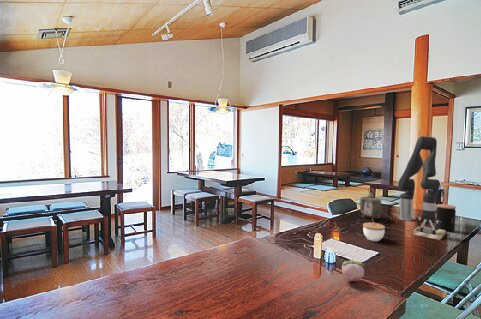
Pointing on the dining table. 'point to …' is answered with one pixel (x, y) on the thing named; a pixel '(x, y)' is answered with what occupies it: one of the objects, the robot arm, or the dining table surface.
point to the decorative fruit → (352, 270)
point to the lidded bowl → (373, 231)
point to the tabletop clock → (370, 205)
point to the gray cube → (428, 230)
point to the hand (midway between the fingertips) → (427, 234)
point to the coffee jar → (446, 217)
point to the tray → (438, 234)
